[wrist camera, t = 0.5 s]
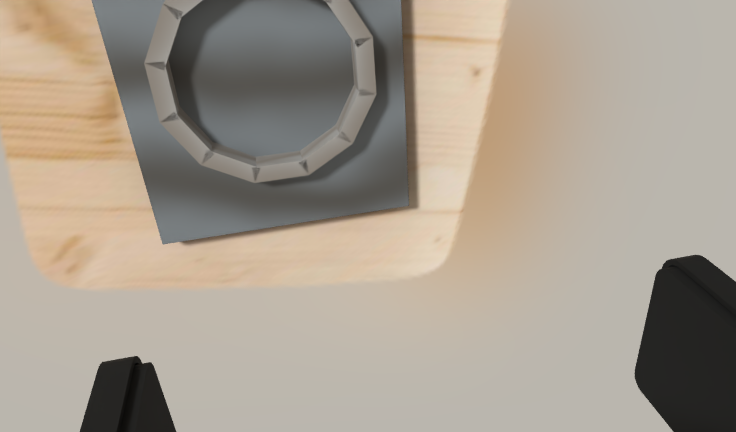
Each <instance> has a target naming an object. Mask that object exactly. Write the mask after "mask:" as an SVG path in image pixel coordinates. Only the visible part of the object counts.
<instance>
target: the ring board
mask: <svg viewBox="0 0 736 432" xmlns="http://www.w3.org/2000/svg"><path fill="white" fill-rule="evenodd" d="M92 3H93V7H94V10H95V14H96V17H97V21H98V24H99V27H100V31H101V34H102V38H103V41H104V45H105V48H106V51H107V55H108V58H109V62H110V65H111V69H112V72H113V75H114V79H115V82H116V86H117V89H118V93H119V96H120V99H121V103H122V106H123V110H124V113H125V117H126V120H127V123H128V127H129V130H130V134H131V137H132V141H133V144H134V147H135V151H136V154H137V158H138V161H139V165H140V168H141V171H142V175H143V178H144V182H145V185H146V189H147V192H148V195H149V199H150V202H151V206H152V209H153V213H154V216H155V219H156V223H157V226H158V230H159V233H160V237H161V240H162V243H163V244H168V243H175V242H181V241H187V240H194V239H200V238H207V237H213V236H219V235H226V234H232V233H238V232H245V231H251V230H257V229H264V228H270V227H277V226H283V225H289V224H296V223H302V222H308V221H315V220H321V219H328V218H334V217H340V216H347V215H353V214H359V213H366V212H372V211H378V210H385V209H391V208H398V207H404V206H409V195H408V170H407V144H406V118H405V92H404V66H403V40H402V14H401V0H92Z"/></svg>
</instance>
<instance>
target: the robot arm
mask: <svg viewBox="0 0 736 432" xmlns="http://www.w3.org/2000/svg"><path fill="white" fill-rule="evenodd" d="M635 379H636V383H637V385H638V387H639V389H640V390H641V392H642V393H643V394H644V395H645V397H646V398H647V399H648V400H649V402H650V403H651V404H652V405H653V407H654V408H655V409H656V410H657V412H658V413H659V414H660V415H661V416H662V418H663V419H664V420H665V422H666V423H667V424H668V425H669V427H670V428H671V429H672V430H673V431H674V432H736V282H735V281H734V280H733V279H732V278H730V277H729V276H728V275H726V274H725V273H724V272H723V271H721V270H720V269H719V268H718V267H716V266H715V265H714V264H712V263H711V262H710V261H709V260H707V259H706V258H704V257H703V256H700V255H692V256H686V257H681V258H675V259H670V260H667V261H666V262H665V263H664V264H663V267H662V269H660V270H659V271H658V272H657V274H656V277H655V281H654V286H653V290H652V295H651V300H650V304H649V309H648V313H647V318H646V322H645V327H644V331H643V336H642V341H641V345H640V349H639V354H638V359H637V363H636V368H635ZM80 432H176V430H175V427H174V424H173V421H172V418H171V415H170V412H169V409H168V406H167V404H166V400H165V398H164V395H163V392H162V389H161V386H160V383H159V380H158V377H157V374H156V371H155V369H154V366H153V364H152V363H150V362H149V363H144V364H142V362H141V360H140V358H139V357H138V356H134V357H128V358H123V359H117V360H111V361H106V362H102V363H101V364H100V366H99V368H98V371H97V375H96V378H95V381H94V385H93V388H92V391H91V395H90V398H89V402H88V406H87V409H86V412H85V415H84V419H83V422H82V426H81V429H80Z"/></svg>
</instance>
